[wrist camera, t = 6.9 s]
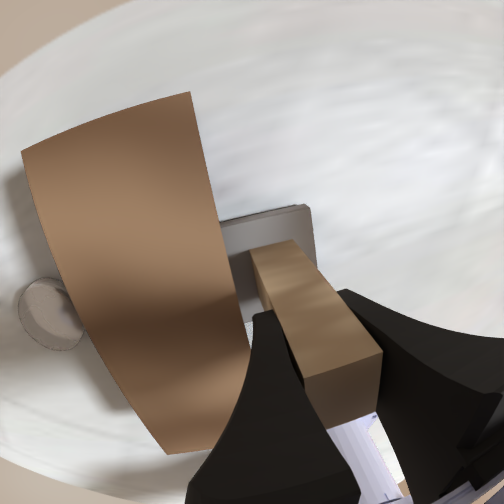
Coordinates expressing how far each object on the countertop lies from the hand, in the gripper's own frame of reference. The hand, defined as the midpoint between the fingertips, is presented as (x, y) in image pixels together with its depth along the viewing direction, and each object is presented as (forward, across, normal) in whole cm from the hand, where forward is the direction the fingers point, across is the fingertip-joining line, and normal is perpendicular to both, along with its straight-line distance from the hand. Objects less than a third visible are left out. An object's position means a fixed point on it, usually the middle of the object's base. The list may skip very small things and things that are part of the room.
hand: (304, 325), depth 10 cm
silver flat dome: (+6, +12, 0) cm, 13 cm away
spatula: (+5, +4, 0) cm, 7 cm away
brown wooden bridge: (+5, +5, 0) cm, 7 cm away
